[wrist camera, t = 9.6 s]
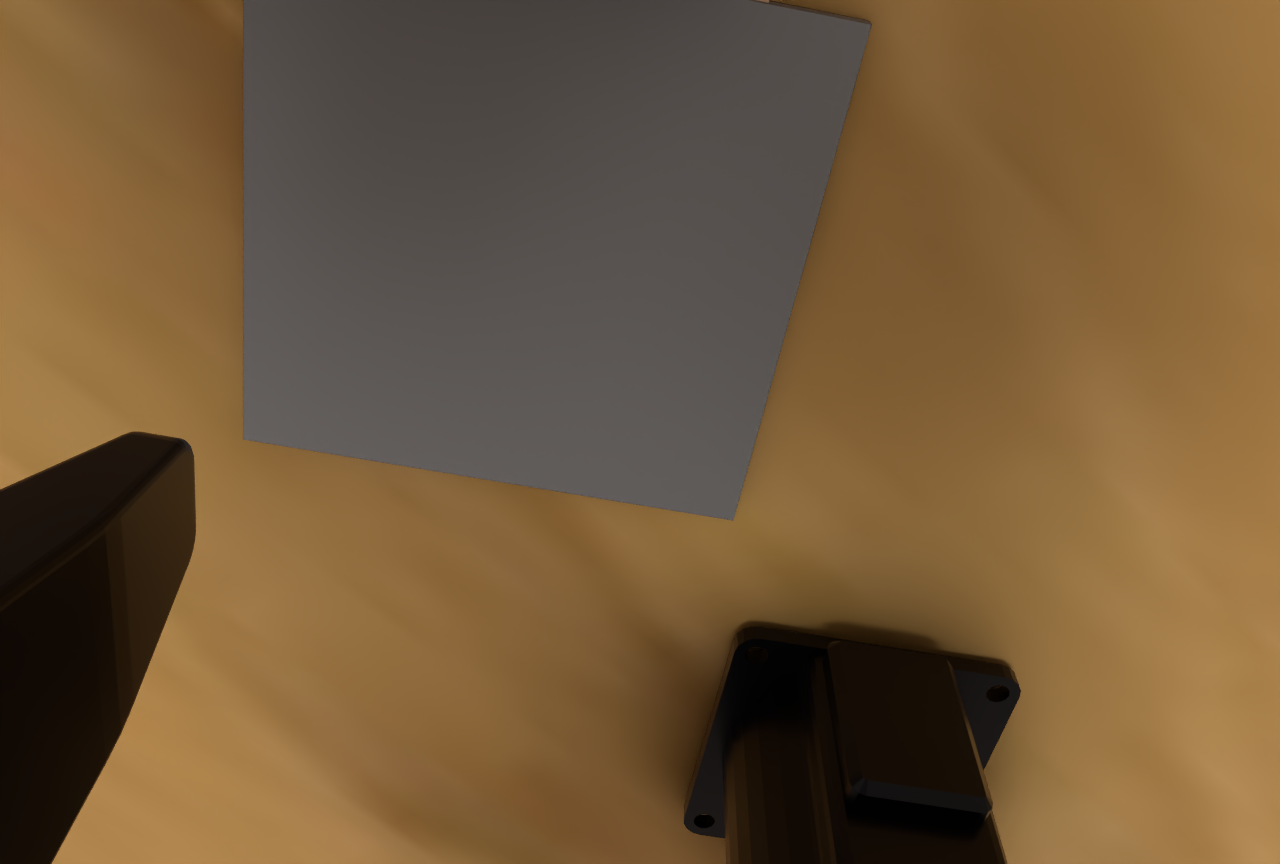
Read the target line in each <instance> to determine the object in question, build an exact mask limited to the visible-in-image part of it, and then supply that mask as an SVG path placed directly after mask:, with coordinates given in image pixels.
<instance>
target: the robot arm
mask: <svg viewBox="0 0 1280 864" xmlns="http://www.w3.org/2000/svg"><path fill="white" fill-rule="evenodd" d="M195 535H196V510H195V473H194V455H193V452H192V449H191V446H190V445H189V444H188V443H187V442H186V441H185V440H184V439H180V438H174V437H168V436H163V435H157V434H151V433H145V432H130V433H127V434H124V435H122V436H120V437H117V438H115V439H113V440H111V441H108V442H106V443H104V444H102V445H99V446H97V447H95V448H93V449H90V450H88V451H86V452H84V453H81V454H79V455H77V456H75V457H72V458H70V459H68V460H66V461H63V462H61V463H59V464H57V465H54V466H52V467H50V468H48V469H45V470H43V471H41V472H39V473H36V474H34V475H32V476H30V477H27V478H25V479H23V480H21V481H18V482H16V483H14V484H12V485H9V486H7V487H5V488H3V489H0V864H52V862H53V860H54V858H55V856H56V854H57V853H58V851H59V849H60V847H61V845H62V843H63V842H64V840H65V838H66V836H67V834H68V832H69V830H70V829H71V827H72V825H73V823H74V821H75V819H76V818H77V816H78V814H79V812H80V810H81V808H82V806H83V805H84V803H85V801H86V799H87V797H88V795H89V794H90V792H91V790H92V788H93V786H94V784H95V783H96V781H97V779H98V777H99V775H100V773H101V771H102V770H103V768H104V766H105V764H106V762H107V760H108V758H109V756H110V754H111V752H112V750H113V748H114V746H115V744H116V742H117V740H118V738H119V736H120V735H121V732H122V730H123V728H124V725H125V723H126V721H127V718H128V716H129V714H130V711H131V709H132V706H133V704H134V701H135V699H136V696H137V694H138V691H139V689H140V686H141V684H142V681H143V679H144V676H145V674H146V671H147V669H148V666H149V663H150V661H151V658H152V656H153V653H154V651H155V648H156V646H157V643H158V641H159V638H160V636H161V633H162V630H163V628H164V625H165V623H166V620H167V618H168V615H169V613H170V610H171V608H172V605H173V603H174V600H175V598H176V595H177V592H178V590H179V587H180V585H181V582H182V580H183V577H184V575H185V572H186V570H187V567H188V565H189V562H190V559H191V556H192V552H193V548H194V543H195ZM753 647H760V648H763V649H764V650H762V651H759V652H751V651H749V649H751V648H753ZM1000 685H1002V686H1001V687H1000V688H997V689H990V688H991V687H994V686H1000ZM1020 692H1021V690H1020V687H1019V684H1018V681H1017V679H1016V676H1015V673H1014V671H1012V670H1011V669H1010V668H1009V667H1006V666H1003V665H999V664H992V663H986V662H980V661H974V660H967V659H961V658H955V657H949V656H942V655H936V654H930V653H923V652H917V651H911V650H905V649H898V648H892V647H886V646H879V645H873V644H867V643H861V642H854V641H848V640H842V639H836V638H829V637H823V636H817V635H810V634H804V633H798V632H792V631H785V630H779V629H773V628H767V627H749V628H745V629H743V630H742V631H740V632H739V633H737V635H736V637H735V638H734V640H733V643H732V647H731V650H730V653H729V657H728V660H727V663H726V667H725V670H724V673H723V677H722V680H721V683H720V687H719V690H718V693H717V697H716V700H715V703H714V707H713V710H712V713H711V717H710V720H709V723H708V727H707V730H706V733H705V737H704V740H703V743H702V747H701V750H700V753H699V757H698V760H697V763H696V767H695V770H694V773H693V777H692V780H691V783H690V787H689V790H688V793H687V797H686V800H685V803H684V824H685V826H686V828H687V829H688V830H690V831H691V832H693V833H696V834H700V835H706V836H713V837H720V838H725V841H726V864H1007V860H1006V857H1005V853H1004V850H1003V846H1002V843H1001V840H1000V836H999V833H998V829H997V826H996V822H995V819H994V815H993V812H992V804H993V802H992V799H991V795H990V792H989V789H988V785H987V782H986V778H985V775H984V772H983V770H984V768H985V766H986V764H987V762H988V760H989V758H990V756H991V754H992V752H993V750H994V748H995V746H996V744H997V742H998V740H999V738H1000V736H1001V734H1002V732H1003V730H1004V728H1005V726H1006V724H1007V721H1008V719H1009V717H1010V715H1011V713H1012V711H1013V709H1014V707H1015V705H1016V703H1017V701H1018V699H1019V697H1020ZM701 814H707V815H701Z"/></svg>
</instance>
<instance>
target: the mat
mask: <svg viewBox="0 0 1280 864" xmlns="http://www.w3.org/2000/svg"><path fill="white" fill-rule="evenodd" d="M870 29H871V23H870V22H869V21H868V20H863V19H858V18H853V17H848V16H843V15H838V14H833V13H828V12H823V11H817V10H812V9H807V8H802V7H797V6H792V5H787V4H782V3H777V2H772V1H769V3H767V2H762V1H757V0H243V439H244V440H250V441H256V442H262V443H268V444H274V445H280V446H287V447H293V448H299V449H305V450H311V451H317V452H323V453H329V454H335V455H341V456H347V457H353V458H359V459H365V460H371V461H377V462H383V463H389V464H395V465H401V466H407V467H413V468H419V469H425V470H431V471H437V472H443V473H449V474H455V475H461V476H467V477H473V478H480V479H486V480H492V481H498V482H504V483H510V484H516V485H522V486H528V487H534V488H540V489H546V490H552V491H558V492H564V493H570V494H576V495H582V496H588V497H594V498H600V499H606V500H612V501H618V502H624V503H630V504H636V505H642V506H648V507H654V508H660V509H667V510H673V511H679V512H685V513H691V514H697V515H703V516H709V517H715V518H721V519H727V520H733V519H734V516H735V512H736V509H737V505H738V501H739V498H740V494H741V491H742V487H743V484H744V480H745V476H746V473H747V469H748V466H749V462H750V459H751V455H752V451H753V448H754V444H755V441H756V437H757V433H758V430H759V426H760V423H761V419H762V416H763V412H764V408H765V405H766V401H767V398H768V394H769V390H770V387H771V383H772V380H773V376H774V373H775V369H776V365H777V362H778V358H779V355H780V351H781V347H782V344H783V340H784V337H785V333H786V330H787V326H788V322H789V319H790V315H791V312H792V308H793V304H794V301H795V297H796V294H797V290H798V287H799V283H800V279H801V276H802V272H803V269H804V265H805V262H806V258H807V254H808V251H809V247H810V244H811V240H812V236H813V233H814V229H815V226H816V222H817V219H818V215H819V211H820V208H821V204H822V201H823V197H824V193H825V190H826V186H827V183H828V179H829V176H830V172H831V168H832V165H833V161H834V158H835V154H836V150H837V147H838V143H839V140H840V136H841V133H842V129H843V125H844V122H845V118H846V115H847V111H848V107H849V104H850V100H851V97H852V93H853V90H854V86H855V82H856V79H857V75H858V72H859V68H860V64H861V61H862V57H863V54H864V50H865V47H866V43H867V39H868V36H869V32H870Z"/></svg>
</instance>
